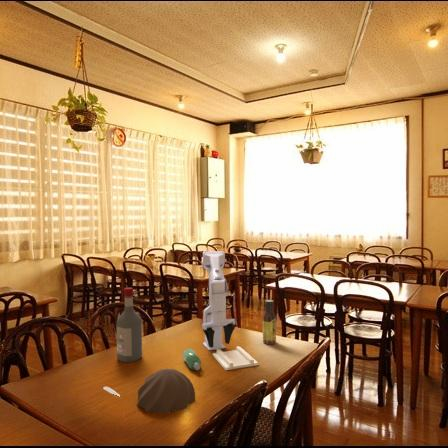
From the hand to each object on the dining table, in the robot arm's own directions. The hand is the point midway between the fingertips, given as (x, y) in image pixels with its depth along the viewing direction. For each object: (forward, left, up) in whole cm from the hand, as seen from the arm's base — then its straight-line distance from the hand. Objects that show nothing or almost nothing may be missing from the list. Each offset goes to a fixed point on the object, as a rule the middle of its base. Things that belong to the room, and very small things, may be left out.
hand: (219, 345), depth 152 cm
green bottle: (-7, -9, -10) cm, 15 cm away
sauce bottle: (-21, +32, -10) cm, 39 cm away
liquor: (-25, -32, -10) cm, 42 cm away
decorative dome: (+15, -24, -10) cm, 30 cm away
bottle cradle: (-7, +9, -10) cm, 15 cm away
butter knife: (+11, -37, -10) cm, 40 cm away
